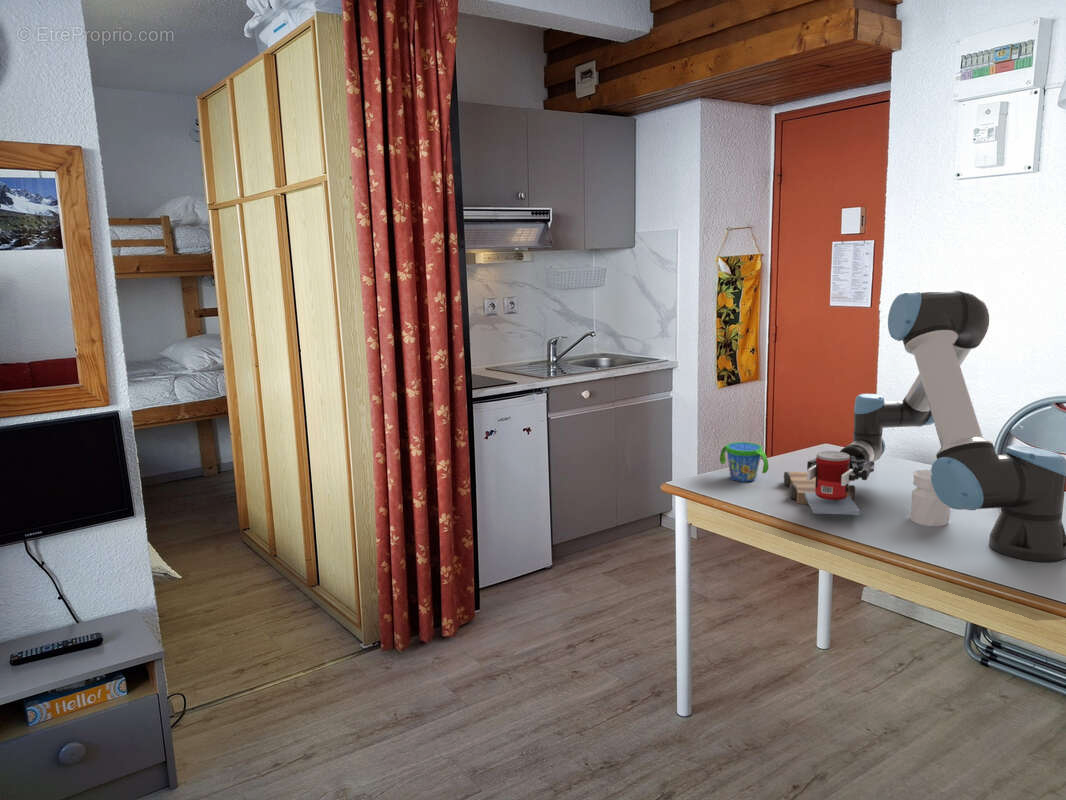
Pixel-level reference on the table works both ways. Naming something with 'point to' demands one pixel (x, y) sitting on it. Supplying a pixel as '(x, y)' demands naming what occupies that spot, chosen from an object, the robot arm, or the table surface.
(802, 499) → the flatbed
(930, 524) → the vase
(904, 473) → the table surface
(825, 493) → the canned food
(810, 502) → the grey flat slab
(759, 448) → the snack cup
